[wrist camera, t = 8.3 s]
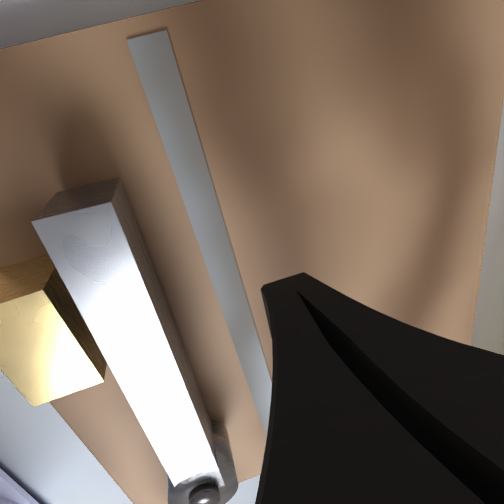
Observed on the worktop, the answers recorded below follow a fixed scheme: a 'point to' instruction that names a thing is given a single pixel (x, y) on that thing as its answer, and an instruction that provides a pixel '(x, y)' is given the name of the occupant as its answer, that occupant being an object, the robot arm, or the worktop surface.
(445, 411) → the robot arm
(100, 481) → the worktop surface
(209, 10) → the latch board
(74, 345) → the light wood small block
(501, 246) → the worktop surface
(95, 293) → the swing bar
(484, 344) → the worktop surface
